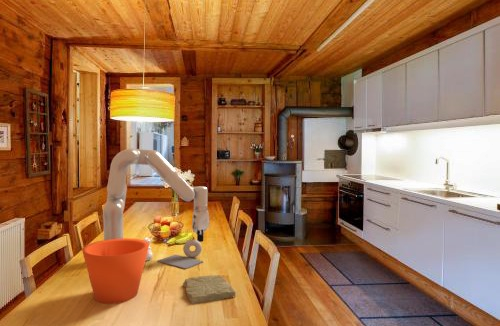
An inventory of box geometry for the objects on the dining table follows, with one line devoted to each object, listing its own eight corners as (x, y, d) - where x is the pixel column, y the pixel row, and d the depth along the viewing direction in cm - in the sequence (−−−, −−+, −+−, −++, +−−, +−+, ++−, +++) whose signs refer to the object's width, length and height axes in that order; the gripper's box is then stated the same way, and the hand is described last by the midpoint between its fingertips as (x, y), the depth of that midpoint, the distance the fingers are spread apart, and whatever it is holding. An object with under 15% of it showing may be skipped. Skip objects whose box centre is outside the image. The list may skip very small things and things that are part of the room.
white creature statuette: (146, 255, 193) (146, 234, 193) (158, 258, 189) (158, 236, 189) (132, 260, 185) (133, 237, 184) (145, 263, 181) (145, 240, 180)
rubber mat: (185, 269, 173) (185, 268, 173) (157, 261, 184) (157, 260, 183) (203, 262, 184) (203, 261, 184) (175, 255, 194) (175, 254, 194)
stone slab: (220, 280, 160) (220, 272, 160) (236, 298, 142) (236, 289, 142) (179, 286, 153) (179, 278, 153) (190, 305, 134) (190, 296, 134)
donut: (182, 258, 189) (183, 240, 188) (182, 256, 192) (183, 238, 192) (201, 258, 190) (202, 239, 190) (201, 256, 194) (201, 238, 194)
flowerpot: (160, 294, 143) (161, 246, 142) (100, 315, 124) (100, 260, 123) (129, 278, 160) (129, 235, 159) (71, 295, 141) (71, 246, 140)
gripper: (196, 211, 187) (196, 245, 188) (214, 207, 200) (214, 239, 200) (186, 209, 191) (185, 243, 192) (204, 206, 204) (203, 237, 204)
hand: (200, 241), depth 196 cm, fingers closed
